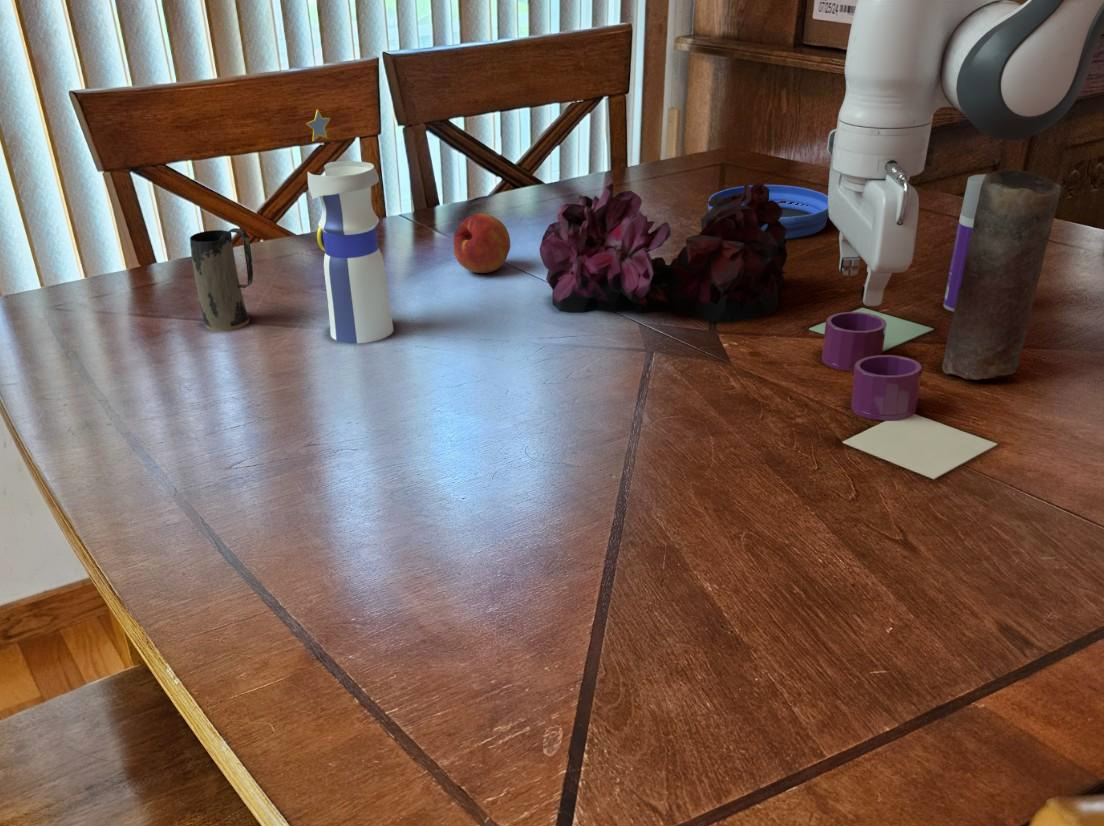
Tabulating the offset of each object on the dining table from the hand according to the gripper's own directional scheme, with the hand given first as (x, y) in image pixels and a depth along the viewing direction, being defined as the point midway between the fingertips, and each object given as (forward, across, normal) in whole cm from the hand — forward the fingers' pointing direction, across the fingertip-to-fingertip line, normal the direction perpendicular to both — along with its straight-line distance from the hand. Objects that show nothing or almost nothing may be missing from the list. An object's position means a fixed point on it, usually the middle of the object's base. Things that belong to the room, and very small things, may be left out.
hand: (858, 288), depth 116 cm
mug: (+9, +18, +72) cm, 75 cm away
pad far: (+8, +9, -5) cm, 13 cm away
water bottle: (+9, +14, +56) cm, 58 cm away
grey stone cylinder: (+8, -4, -13) cm, 16 cm away
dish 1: (+8, 0, 0) cm, 8 cm away
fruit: (+9, +36, +42) cm, 55 cm away
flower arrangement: (+8, +21, +18) cm, 29 cm away
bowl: (+8, +53, -1) cm, 54 cm away
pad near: (+8, -21, -2) cm, 22 cm away
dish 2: (+8, -13, 0) cm, 15 cm away
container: (+8, +15, -18) cm, 25 cm away
